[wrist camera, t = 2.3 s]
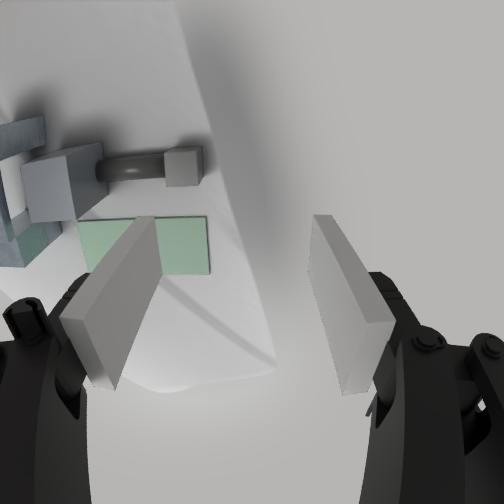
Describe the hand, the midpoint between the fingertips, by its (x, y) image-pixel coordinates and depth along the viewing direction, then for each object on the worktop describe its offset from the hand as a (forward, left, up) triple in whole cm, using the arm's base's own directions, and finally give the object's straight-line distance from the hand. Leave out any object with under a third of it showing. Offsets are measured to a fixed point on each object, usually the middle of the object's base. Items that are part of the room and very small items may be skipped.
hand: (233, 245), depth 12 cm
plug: (-13, 0, -19) cm, 23 cm away
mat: (-12, -9, -19) cm, 24 cm away
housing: (-26, 0, -19) cm, 32 cm away
